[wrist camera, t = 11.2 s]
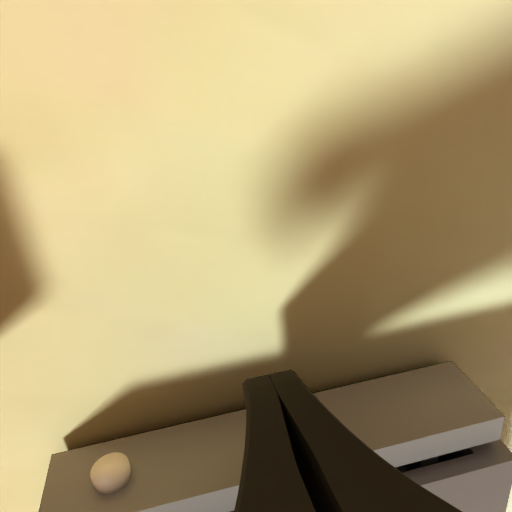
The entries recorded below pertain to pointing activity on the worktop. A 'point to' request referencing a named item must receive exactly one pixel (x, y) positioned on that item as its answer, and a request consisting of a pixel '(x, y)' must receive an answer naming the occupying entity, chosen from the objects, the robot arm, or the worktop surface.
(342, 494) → the robot arm
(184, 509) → the tray
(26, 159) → the worktop surface
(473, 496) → the box
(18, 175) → the worktop surface
